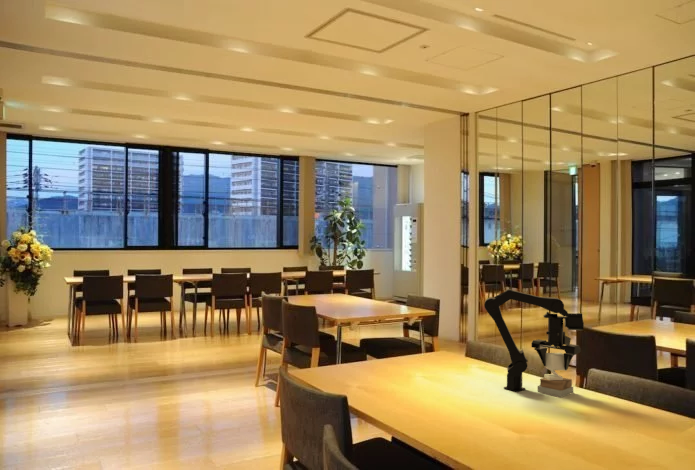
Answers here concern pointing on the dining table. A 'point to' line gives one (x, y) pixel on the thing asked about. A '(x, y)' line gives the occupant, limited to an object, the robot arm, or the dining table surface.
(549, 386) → the tower top
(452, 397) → the dining table surface
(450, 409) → the dining table surface
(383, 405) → the dining table surface
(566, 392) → the tower base
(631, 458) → the dining table surface
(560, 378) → the security camera
